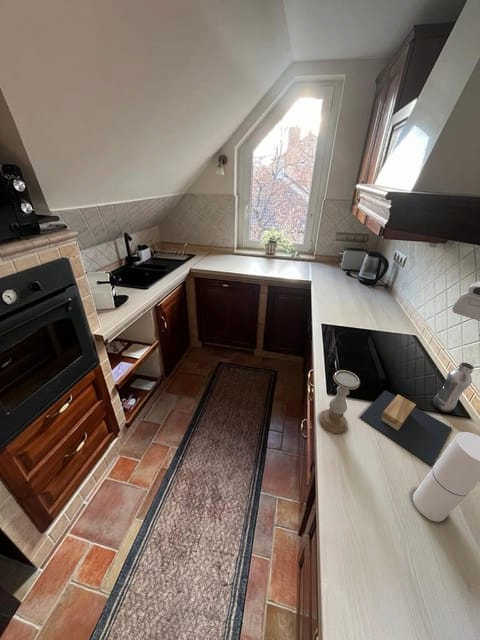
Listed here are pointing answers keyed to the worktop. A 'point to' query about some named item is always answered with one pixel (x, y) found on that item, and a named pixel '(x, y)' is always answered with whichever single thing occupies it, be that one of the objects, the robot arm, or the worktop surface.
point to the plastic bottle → (453, 387)
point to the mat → (410, 429)
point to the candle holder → (339, 402)
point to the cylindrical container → (450, 478)
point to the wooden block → (397, 412)
